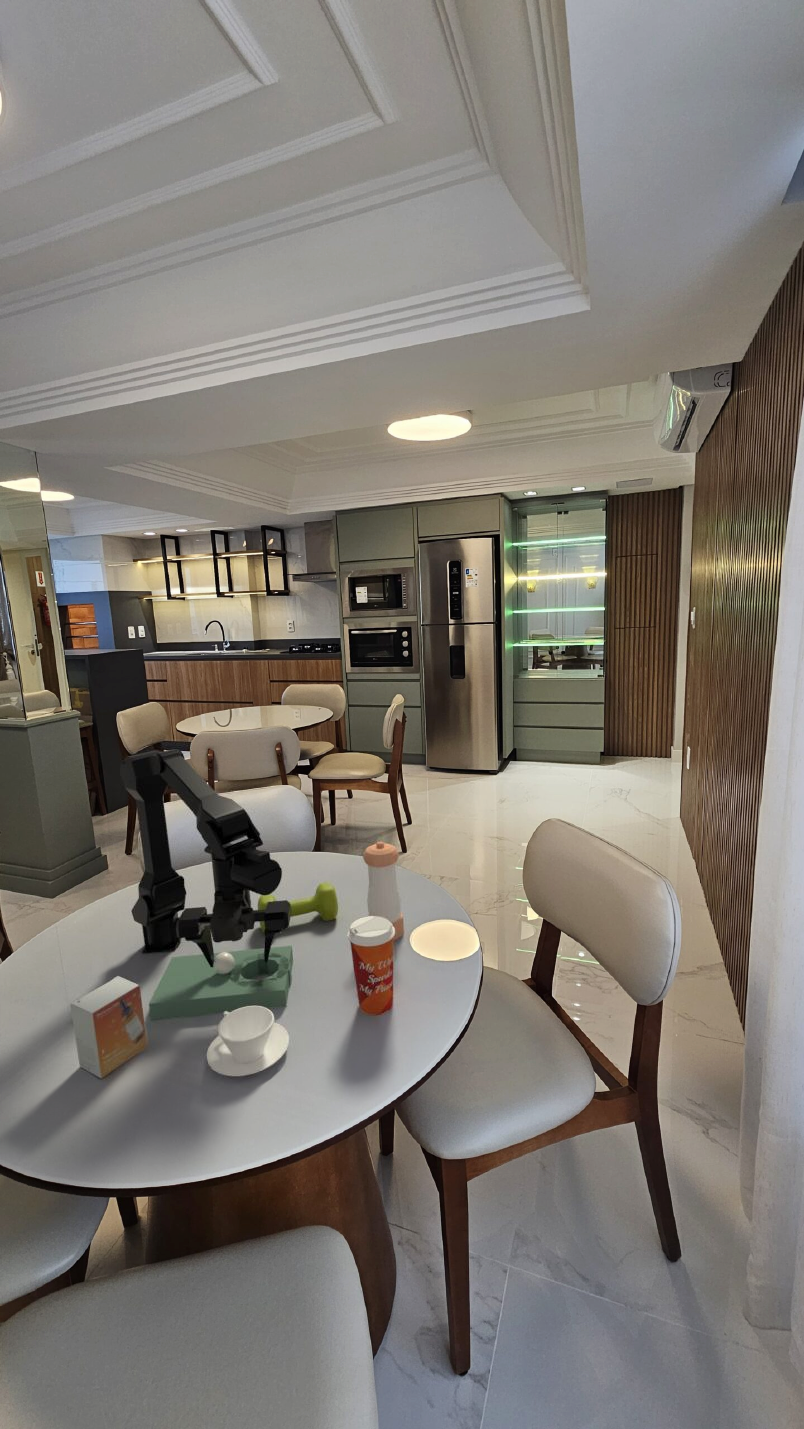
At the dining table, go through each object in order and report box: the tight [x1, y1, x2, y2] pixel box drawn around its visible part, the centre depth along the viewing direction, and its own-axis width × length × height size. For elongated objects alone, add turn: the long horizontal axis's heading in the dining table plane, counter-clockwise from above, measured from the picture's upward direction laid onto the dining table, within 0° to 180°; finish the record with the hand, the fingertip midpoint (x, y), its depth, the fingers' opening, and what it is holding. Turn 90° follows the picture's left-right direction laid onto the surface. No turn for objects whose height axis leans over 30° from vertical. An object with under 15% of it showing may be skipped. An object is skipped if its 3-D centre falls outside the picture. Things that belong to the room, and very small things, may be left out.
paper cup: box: [347, 916, 395, 1016], centre depth 103 cm, size 8×8×14 cm
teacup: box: [206, 1006, 290, 1077], centre depth 94 cm, size 12×12×5 cm
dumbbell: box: [257, 881, 339, 933], centre depth 132 cm, size 16×8×7 cm, turn 109°
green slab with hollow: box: [148, 945, 294, 1021], centre depth 111 cm, size 22×14×3 cm, turn 95°
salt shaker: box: [362, 841, 405, 941], centre depth 125 cm, size 7×7×19 cm
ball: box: [213, 951, 235, 974], centre depth 110 cm, size 4×4×4 cm
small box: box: [69, 975, 148, 1079], centre depth 94 cm, size 8×6×10 cm
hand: (239, 963), depth 110 cm, fingers open, 9 cm apart
